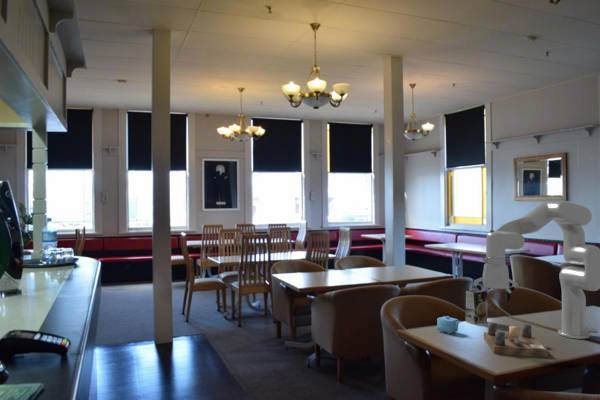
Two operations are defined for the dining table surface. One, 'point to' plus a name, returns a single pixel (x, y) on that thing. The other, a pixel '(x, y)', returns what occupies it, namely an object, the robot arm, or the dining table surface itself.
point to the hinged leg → (514, 334)
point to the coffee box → (476, 307)
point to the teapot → (447, 324)
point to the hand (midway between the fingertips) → (495, 301)
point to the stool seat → (506, 346)
